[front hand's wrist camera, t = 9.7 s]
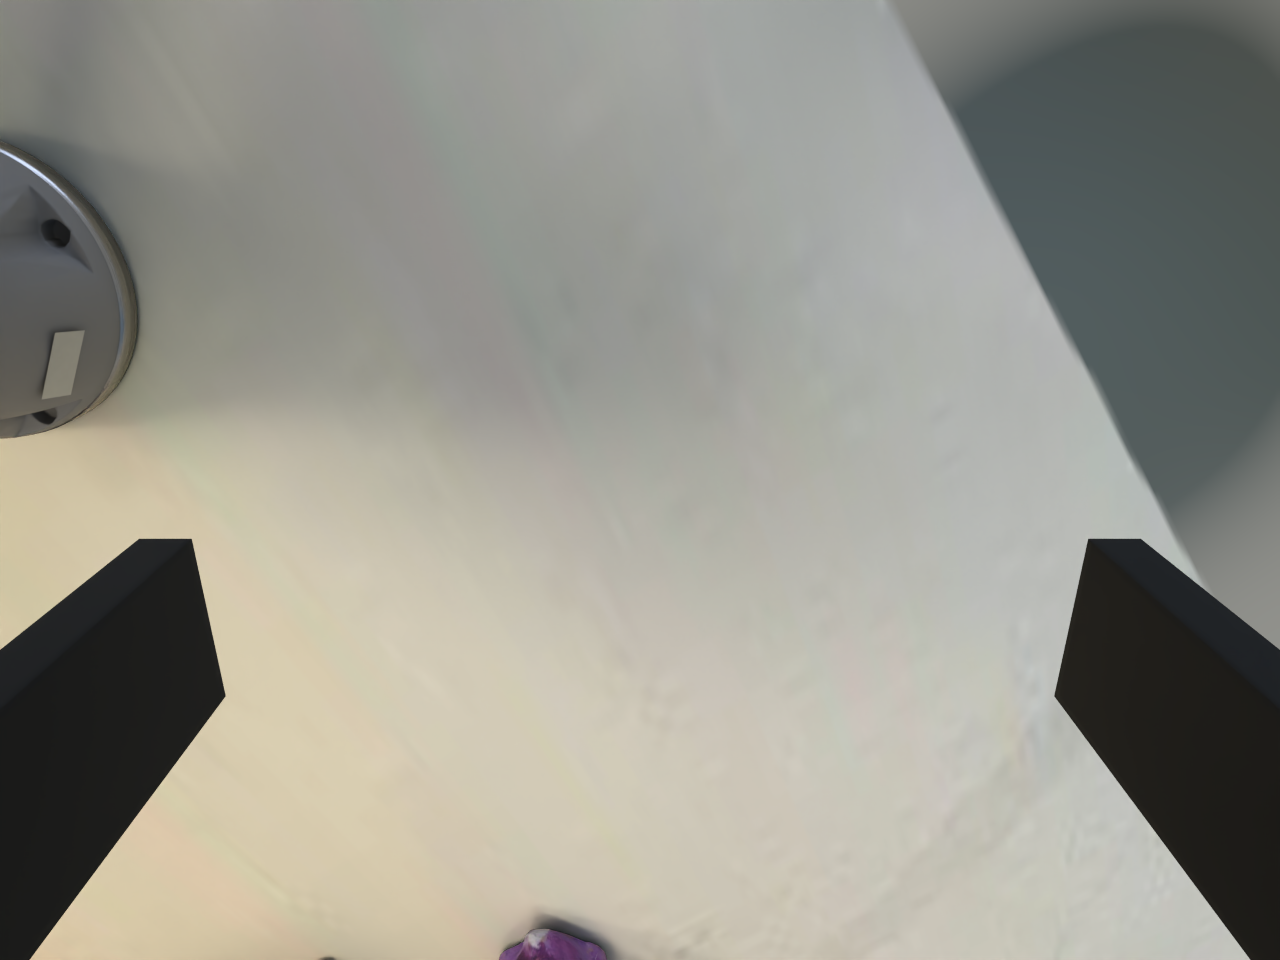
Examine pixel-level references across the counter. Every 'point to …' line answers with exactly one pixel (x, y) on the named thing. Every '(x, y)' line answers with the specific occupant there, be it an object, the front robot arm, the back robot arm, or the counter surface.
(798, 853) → the counter surface
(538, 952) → the figurine
